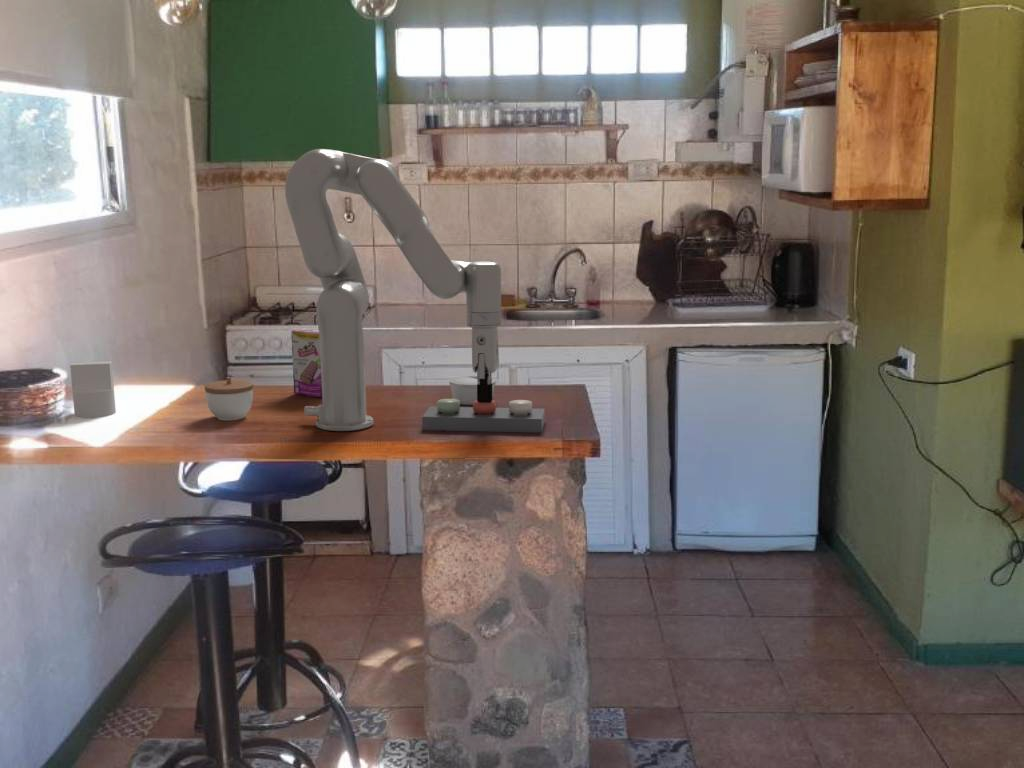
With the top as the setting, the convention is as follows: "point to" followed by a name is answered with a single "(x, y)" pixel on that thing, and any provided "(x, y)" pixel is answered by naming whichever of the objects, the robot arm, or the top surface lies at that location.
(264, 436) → the top surface
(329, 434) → the top surface
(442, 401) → the button sage
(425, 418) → the button panel
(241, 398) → the lidded jar
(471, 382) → the ramekin
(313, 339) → the candy bar box
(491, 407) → the button red
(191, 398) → the top surface
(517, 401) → the button cream
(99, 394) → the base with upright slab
